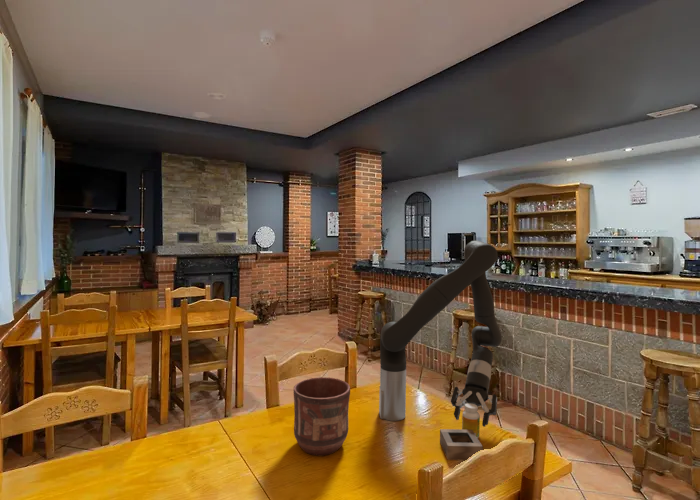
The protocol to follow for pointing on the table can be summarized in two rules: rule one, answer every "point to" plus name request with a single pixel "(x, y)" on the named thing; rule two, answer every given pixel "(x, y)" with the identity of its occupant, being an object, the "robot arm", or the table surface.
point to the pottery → (321, 414)
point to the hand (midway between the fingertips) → (470, 422)
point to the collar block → (459, 443)
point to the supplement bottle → (471, 418)
